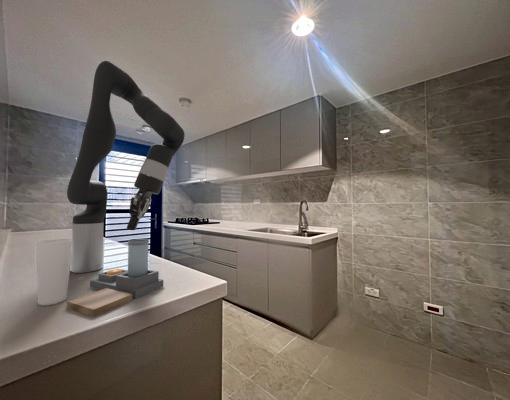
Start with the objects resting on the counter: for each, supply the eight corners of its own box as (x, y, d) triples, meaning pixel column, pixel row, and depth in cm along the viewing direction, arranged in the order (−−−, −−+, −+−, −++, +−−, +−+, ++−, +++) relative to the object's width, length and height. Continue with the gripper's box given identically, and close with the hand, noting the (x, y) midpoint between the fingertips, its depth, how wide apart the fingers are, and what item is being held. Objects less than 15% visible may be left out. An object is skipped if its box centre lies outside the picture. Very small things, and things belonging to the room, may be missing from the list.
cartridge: (122, 283, 60) (123, 240, 61) (139, 278, 65) (140, 238, 66) (136, 286, 58) (136, 241, 59) (152, 280, 63) (152, 239, 64)
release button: (103, 278, 65) (103, 271, 65) (116, 274, 68) (116, 268, 68) (112, 280, 63) (112, 273, 63) (125, 276, 67) (125, 269, 67)
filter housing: (89, 287, 63) (90, 271, 63) (119, 278, 71) (120, 264, 72) (135, 298, 56) (136, 280, 56) (163, 286, 64) (163, 271, 64)
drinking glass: (36, 311, 49) (38, 244, 49) (30, 302, 53) (32, 241, 53) (74, 300, 54) (75, 240, 55) (66, 294, 58) (68, 237, 59)
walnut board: (66, 307, 50) (67, 301, 50) (106, 293, 59) (106, 288, 59) (93, 316, 46) (93, 309, 47) (132, 300, 55) (132, 294, 55)
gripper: (145, 177, 75) (125, 225, 72) (133, 167, 62) (108, 226, 59) (167, 184, 76) (148, 232, 73) (159, 176, 63) (136, 234, 60)
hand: (130, 229), depth 66 cm, fingers closed
